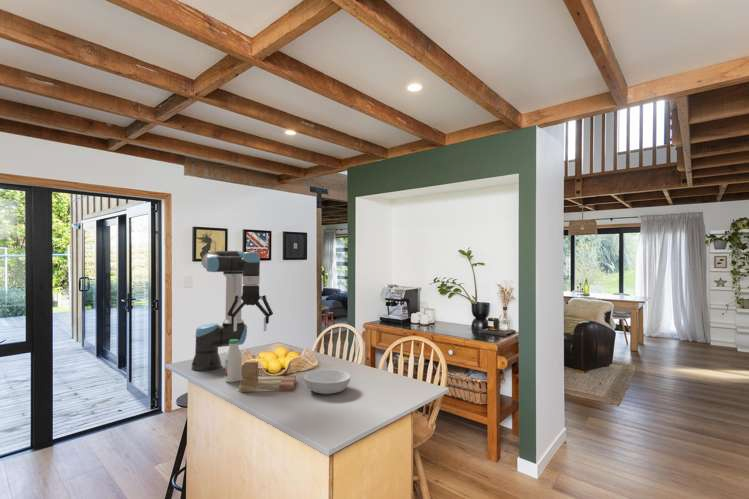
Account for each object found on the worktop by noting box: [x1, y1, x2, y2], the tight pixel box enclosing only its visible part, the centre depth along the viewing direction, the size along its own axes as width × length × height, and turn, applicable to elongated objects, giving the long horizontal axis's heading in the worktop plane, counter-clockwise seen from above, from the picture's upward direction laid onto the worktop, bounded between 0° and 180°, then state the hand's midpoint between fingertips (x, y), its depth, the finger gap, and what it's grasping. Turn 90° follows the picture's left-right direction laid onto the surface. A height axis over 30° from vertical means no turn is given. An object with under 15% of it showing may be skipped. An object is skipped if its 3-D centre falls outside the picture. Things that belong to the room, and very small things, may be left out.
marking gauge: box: [240, 361, 259, 392], centre depth 179 cm, size 8×6×11 cm
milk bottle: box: [224, 339, 243, 383], centre depth 192 cm, size 8×8×20 cm
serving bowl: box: [304, 369, 351, 395], centre depth 178 cm, size 21×21×7 cm
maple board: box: [238, 375, 297, 393], centre depth 183 cm, size 14×24×2 cm, turn 95°
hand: (250, 330), depth 180 cm, fingers open, 13 cm apart
